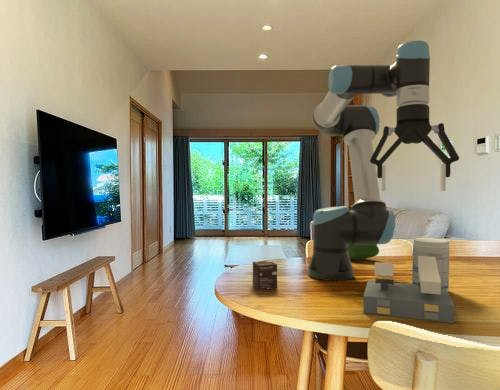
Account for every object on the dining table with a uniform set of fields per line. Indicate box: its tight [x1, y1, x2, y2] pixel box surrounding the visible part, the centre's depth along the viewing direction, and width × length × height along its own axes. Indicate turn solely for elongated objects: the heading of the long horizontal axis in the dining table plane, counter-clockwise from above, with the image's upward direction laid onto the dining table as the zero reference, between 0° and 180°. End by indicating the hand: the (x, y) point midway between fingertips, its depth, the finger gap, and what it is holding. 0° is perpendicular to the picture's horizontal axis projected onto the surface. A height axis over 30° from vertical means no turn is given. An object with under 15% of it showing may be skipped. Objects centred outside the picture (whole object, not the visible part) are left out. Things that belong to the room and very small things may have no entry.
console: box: [362, 277, 455, 324], centre depth 91 cm, size 19×16×7 cm
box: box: [252, 260, 278, 290], centre depth 110 cm, size 6×6×7 cm
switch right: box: [418, 256, 441, 295], centre depth 89 cm, size 4×14×3 cm, turn 158°
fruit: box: [348, 244, 380, 261], centre depth 153 cm, size 15×10×10 cm, turn 47°
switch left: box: [374, 261, 394, 279], centre depth 93 cm, size 4×14×3 cm, turn 158°
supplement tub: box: [411, 237, 450, 293], centre depth 106 cm, size 10×10×15 cm
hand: (412, 191), depth 92 cm, fingers open, 13 cm apart
